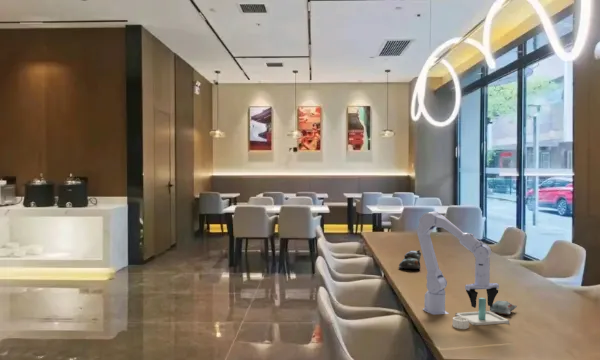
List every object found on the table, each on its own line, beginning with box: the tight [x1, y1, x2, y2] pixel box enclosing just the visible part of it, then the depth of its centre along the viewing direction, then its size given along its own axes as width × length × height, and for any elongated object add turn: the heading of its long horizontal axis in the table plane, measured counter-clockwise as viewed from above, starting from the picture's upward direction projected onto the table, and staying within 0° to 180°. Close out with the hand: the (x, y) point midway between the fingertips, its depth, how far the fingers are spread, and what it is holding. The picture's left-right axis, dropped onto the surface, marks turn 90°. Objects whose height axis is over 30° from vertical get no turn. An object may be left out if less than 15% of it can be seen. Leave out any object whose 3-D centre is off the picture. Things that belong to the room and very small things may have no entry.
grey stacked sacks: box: [397, 249, 422, 271], centre depth 312 cm, size 15×12×14 cm
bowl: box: [452, 316, 470, 330], centre depth 196 cm, size 6×6×4 cm
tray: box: [455, 310, 510, 326], centre depth 206 cm, size 14×16×2 cm
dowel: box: [478, 297, 487, 320], centre depth 206 cm, size 3×3×8 cm
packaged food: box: [489, 300, 518, 316], centre depth 217 cm, size 9×12×5 cm
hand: (481, 306), depth 206 cm, fingers open, 7 cm apart
